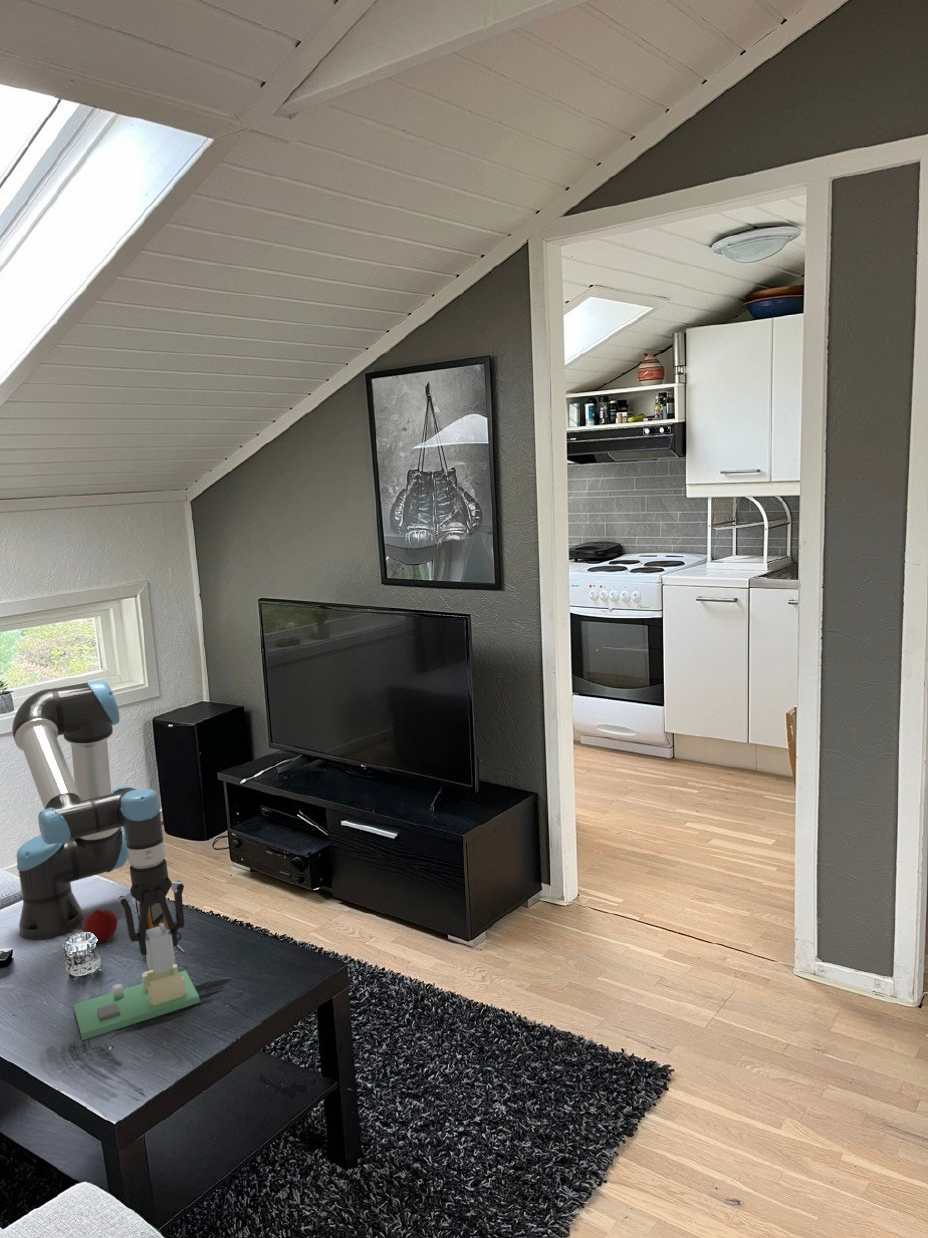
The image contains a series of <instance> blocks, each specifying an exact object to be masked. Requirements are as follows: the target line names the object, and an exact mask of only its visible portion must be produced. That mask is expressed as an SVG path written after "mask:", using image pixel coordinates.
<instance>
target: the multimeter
mask: <svg viewBox="0 0 928 1238" xmlns="http://www.w3.org/2000/svg"><path fill="white" fill-rule="evenodd" d="M134 900H135V907H136V914H137V919H138V920H137V921H138V922H139V913H140V902H139V901H137V900H136V899H135V898H134ZM160 923H163V924H164V926H165V927H166V929H167V930H169V927H168V924H167V922H166V919H165V917H164V914H163V911H162V909H161V906H160V903H154V904H152V905H150V906H149V909H148V915H147V927H146V930H148V929H152V928H155V927H159V924H160ZM177 934H179V937H177V941H179V940H180V939H182V934H181V933H180V932H178V931H177ZM176 947H177V949H179V951H182V952H183V953H185V951H184V949H183V947H181V946H180V945H179V944H177V946H176ZM175 953H178V951H177V950H176V951H174V954H175ZM144 958H146V955H144Z"/></svg>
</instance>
